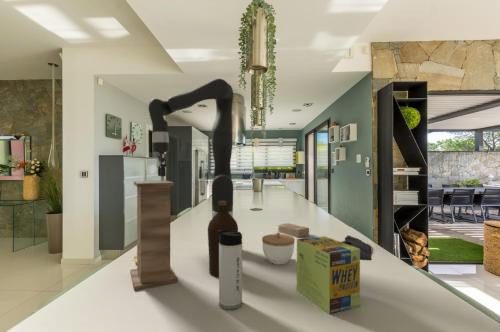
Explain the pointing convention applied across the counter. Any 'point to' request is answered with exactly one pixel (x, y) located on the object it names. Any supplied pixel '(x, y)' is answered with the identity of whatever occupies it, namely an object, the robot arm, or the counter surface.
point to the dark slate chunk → (364, 248)
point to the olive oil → (218, 235)
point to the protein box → (328, 273)
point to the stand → (153, 235)
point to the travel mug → (230, 269)
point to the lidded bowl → (278, 248)
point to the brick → (293, 230)
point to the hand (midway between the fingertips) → (161, 176)
